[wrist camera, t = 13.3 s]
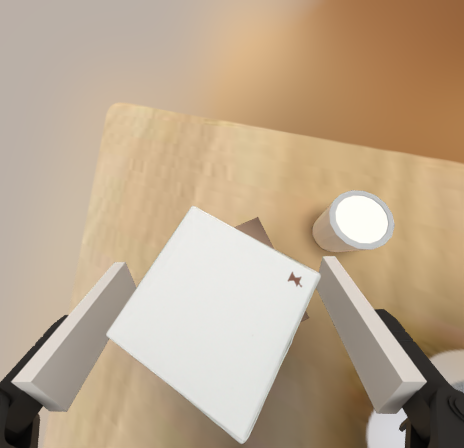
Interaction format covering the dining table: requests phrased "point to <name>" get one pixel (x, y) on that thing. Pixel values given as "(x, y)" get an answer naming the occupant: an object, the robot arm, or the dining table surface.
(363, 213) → the white cylinder
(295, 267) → the supplement box
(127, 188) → the dining table surface
